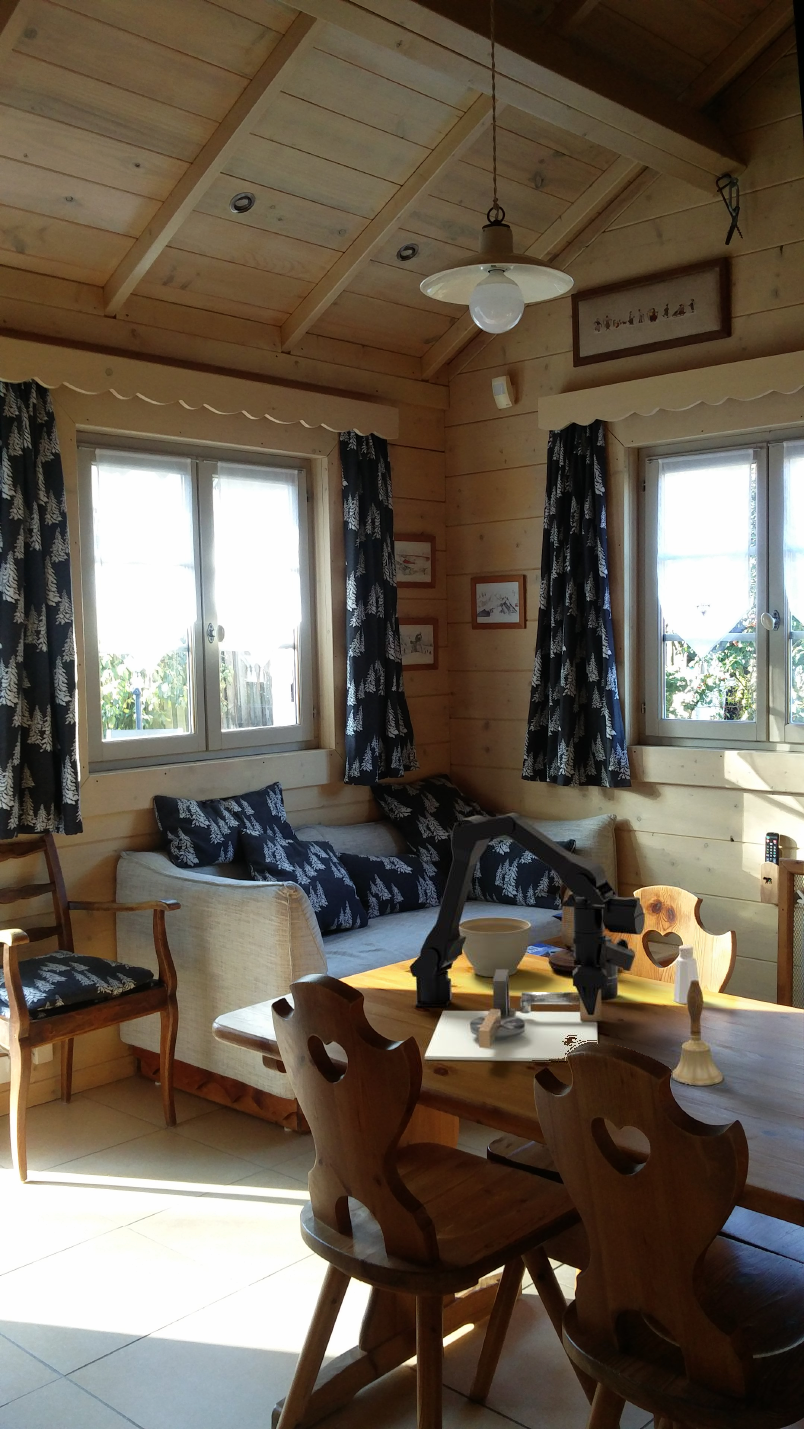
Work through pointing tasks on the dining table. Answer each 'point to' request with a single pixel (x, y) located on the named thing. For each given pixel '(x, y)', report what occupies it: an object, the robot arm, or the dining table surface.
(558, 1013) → the white board
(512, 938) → the planter bowl
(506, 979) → the iron eye
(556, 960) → the brown upright piece
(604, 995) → the supplement bottle
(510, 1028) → the handwheel
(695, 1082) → the hand bell
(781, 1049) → the dining table surface
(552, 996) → the wooden mallet
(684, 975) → the pepper shaker
